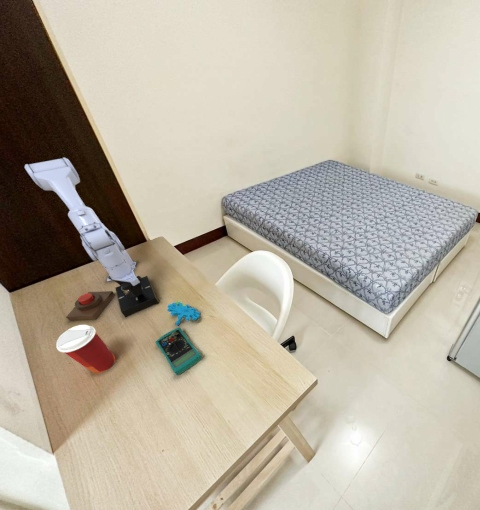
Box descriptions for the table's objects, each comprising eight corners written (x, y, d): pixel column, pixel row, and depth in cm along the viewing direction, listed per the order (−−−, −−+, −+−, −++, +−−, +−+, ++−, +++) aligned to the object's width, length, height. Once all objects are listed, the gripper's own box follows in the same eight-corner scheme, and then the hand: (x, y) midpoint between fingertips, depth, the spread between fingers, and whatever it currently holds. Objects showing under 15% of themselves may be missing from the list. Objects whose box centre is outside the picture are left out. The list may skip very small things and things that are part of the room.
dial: (127, 289, 93) (121, 281, 90) (144, 285, 95) (139, 277, 92) (125, 299, 89) (119, 291, 87) (142, 295, 91) (137, 287, 89)
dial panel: (119, 293, 95) (115, 287, 93) (150, 281, 100) (146, 275, 99) (125, 317, 87) (120, 311, 85) (159, 303, 92) (155, 297, 90)
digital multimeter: (181, 329, 84) (178, 324, 82) (203, 359, 77) (200, 353, 75) (157, 345, 80) (152, 339, 78) (177, 377, 72) (173, 372, 70)
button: (85, 296, 89) (82, 293, 88) (96, 296, 89) (94, 292, 88) (78, 305, 86) (75, 301, 85) (90, 304, 87) (86, 301, 85)
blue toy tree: (205, 318, 86) (172, 314, 78) (196, 334, 86) (163, 331, 78) (195, 302, 93) (165, 296, 85) (187, 316, 93) (156, 312, 85)
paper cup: (122, 348, 79) (96, 319, 70) (116, 371, 73) (87, 343, 64) (91, 356, 76) (60, 328, 67) (82, 381, 71) (46, 353, 62)
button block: (91, 296, 94) (85, 288, 91) (115, 295, 95) (109, 287, 92) (69, 321, 85) (62, 313, 83) (96, 320, 86) (89, 312, 84)
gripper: (140, 262, 83) (158, 291, 92) (114, 248, 88) (133, 277, 97) (117, 275, 78) (138, 305, 87) (91, 260, 84) (113, 289, 92)
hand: (134, 291), depth 92 cm, fingers closed on dial, 5 cm apart
